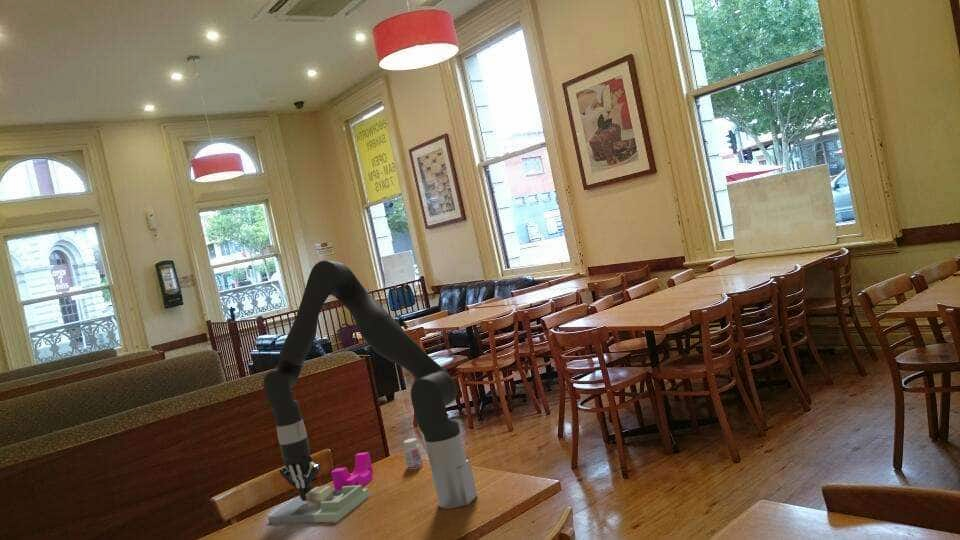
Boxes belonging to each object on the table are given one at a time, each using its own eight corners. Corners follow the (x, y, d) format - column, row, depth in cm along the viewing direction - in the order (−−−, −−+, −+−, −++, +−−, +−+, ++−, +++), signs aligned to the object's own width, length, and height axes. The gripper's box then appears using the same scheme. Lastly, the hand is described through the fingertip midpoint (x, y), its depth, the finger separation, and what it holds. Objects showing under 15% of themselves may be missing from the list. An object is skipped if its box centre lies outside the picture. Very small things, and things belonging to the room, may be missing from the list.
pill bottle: (417, 470, 202) (411, 442, 202) (404, 470, 205) (398, 443, 205) (426, 464, 206) (420, 437, 206) (414, 464, 209) (408, 437, 209)
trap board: (370, 497, 187) (366, 481, 187) (337, 523, 172) (333, 506, 172) (306, 500, 196) (303, 485, 195) (269, 526, 181) (266, 509, 181)
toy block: (354, 495, 192) (349, 470, 191) (336, 497, 194) (330, 471, 194) (381, 475, 206) (375, 451, 205) (363, 476, 208) (358, 453, 208)
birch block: (333, 498, 185) (331, 485, 185) (323, 505, 180) (320, 493, 180) (319, 498, 187) (316, 486, 187) (308, 506, 182) (305, 494, 182)
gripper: (320, 432, 186) (334, 493, 186) (282, 436, 191) (296, 495, 191) (303, 441, 179) (318, 504, 179) (265, 445, 184) (278, 506, 184)
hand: (306, 499), depth 185 cm, fingers closed
